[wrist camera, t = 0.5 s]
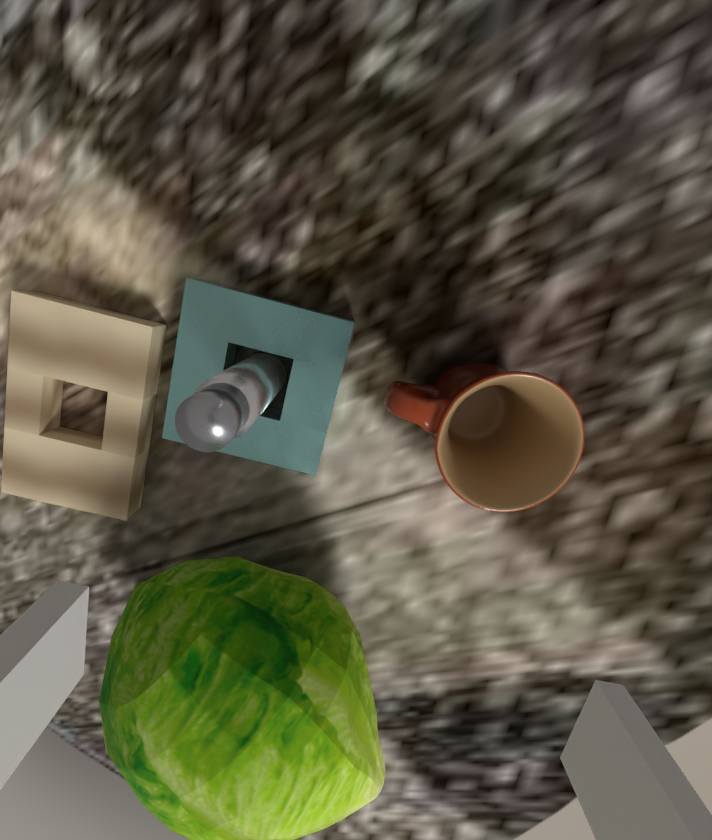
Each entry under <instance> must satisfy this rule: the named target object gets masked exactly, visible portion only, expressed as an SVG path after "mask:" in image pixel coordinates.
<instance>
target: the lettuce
mask: <svg viewBox="0 0 712 840" xmlns="http://www.w3.org/2000/svg"><path fill="white" fill-rule="evenodd" d="M99 703H100V711H101V718H102V725H103V732H104V739H105V746H106V753H107V755H108V756H109V757H110V758H111V760H112V761H113V762H114V764H115V765H116V766H117V768H118V769H119V771H120V772H121V773H122V775H123V776H124V778H125V779H126V781H127V782H128V784H129V785H130V787H131V788H132V790H133V791H134V793H135V794H136V796H137V797H138V799H139V800H140V802H141V803H142V804H143V805H144V806H145V807H146V808H147V809H149V811H151V812H152V813H153V814H154V815H155V816H156V817H157V818H158V819H159V820H160V821H161V822H163V823H164V824H165V825H166V826H167V827H168V828H169V829H170V830H172V831H174V832H176V833H178V834H180V835H182V836H184V837H186V838H188V839H190V840H294V839H297V838H299V837H302V836H305V835H308V834H311V833H314V832H316V831H319V830H322V829H325V828H327V827H329V826H331V825H332V824H334V823H336V822H338V821H340V820H342V819H344V818H345V817H347V816H349V815H350V814H352V813H353V812H355V811H357V810H358V809H360V808H361V807H363V806H364V805H366V804H368V803H369V802H371V801H372V800H373V799H375V798H376V797H377V796H378V794H379V793H380V791H381V789H382V787H383V784H384V777H385V764H384V758H383V752H382V748H381V743H380V739H379V734H378V730H377V715H376V709H375V703H374V698H373V693H372V688H371V683H370V678H369V674H368V669H367V664H366V660H365V655H364V651H363V647H362V642H361V638H360V634H359V632H358V630H357V629H356V627H355V625H354V623H353V621H352V619H351V618H350V616H349V614H348V612H347V610H346V608H345V607H344V606H343V605H342V603H341V602H340V601H339V600H338V599H337V598H336V597H335V595H334V594H333V593H332V592H330V591H328V590H327V589H325V588H323V587H322V586H320V585H319V584H317V583H315V582H314V581H312V580H310V579H309V578H307V577H303V576H299V575H295V574H291V573H287V572H283V571H279V570H275V569H272V568H269V567H266V566H263V565H260V564H257V563H254V562H252V561H249V560H246V559H243V558H240V557H237V556H234V557H220V558H207V559H193V560H186V561H183V562H181V563H179V564H177V565H175V566H173V567H171V568H169V569H167V570H165V571H163V572H161V573H159V574H157V575H155V576H153V577H151V578H149V579H147V580H145V581H143V582H141V583H139V584H137V585H136V587H135V589H134V591H133V593H132V595H131V597H130V599H129V601H128V603H127V605H126V608H125V610H124V612H123V614H122V616H121V618H120V620H119V622H118V624H117V626H116V628H115V630H114V633H113V635H112V639H111V644H110V649H109V654H108V659H107V664H106V669H105V674H104V679H103V685H102V690H101V695H100V700H99Z"/></svg>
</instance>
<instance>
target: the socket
mask: <svg viewBox="0 0 712 840" xmlns="http://www.w3.org/2000/svg"><path fill="white" fill-rule="evenodd" d="M354 323H355V321H354V320H351V319H347V318H343V317H339V316H336V315H332V314H328V313H324V312H321V311H317V310H313V309H310V308H306V307H302V306H298V305H295V304H291V303H287V302H283V301H280V300H276V299H272V298H268V297H265V296H261V295H257V294H253V293H250V292H246V291H242V290H238V289H235V288H231V287H227V286H223V285H220V284H216V283H212V282H209V281H205V280H201V279H192V278H186V282H185V288H184V295H183V301H182V308H181V315H180V321H179V328H178V335H177V341H176V348H175V355H174V361H173V368H172V374H171V381H170V388H169V394H168V401H167V408H166V414H165V421H164V427H163V434H162V438H163V439H167V440H171V441H176V442H180V443H184V442H183V441H182V439H181V438H180V437H179V435H178V433H177V430H176V427H175V414H176V411H177V409H178V407H179V405H180V404H181V403H182V402H183V401H184V400H185V399H187V398H188V397H190V396H192V395H193V393H194V392H195V390H196V389H197V387H198V386H199V385H200V384H202V383H203V382H204V381H206V380H208V379H210V378H212V377H213V376H215V375H217V374H219V373H221V372H223V371H224V370H226V369H228V368H230V367H232V366H233V365H234V363H235V357H236V352H237V347H238V345H241V346H245V347H249V348H253V349H257V350H260V351H264V352H268V353H272V354H276V355H280V356H284V357H287V358H291V359H294V360H293V365H292V369H291V374H290V378H289V383H288V387H287V392H286V396H285V401H284V405H283V410H280V409H276V408H272V407H268V406H267V407H266V409H265V410H264V411H263V412H262V413H261V415H260V416H259V417H258V418H257V420H256V421H255V422H254V423H253V424H252V426H251V427H250V428H249V429H248V430H247V431H246V432H245V433H244V434H243V435H241V436H239V437H237V438H234V439H232V441H231V442H230V443H229V444H228V445H227V446H226V447H224V448H223V449H221V450H219V451H217V452H221V453H225V454H229V455H233V456H238V457H242V458H246V459H250V460H254V461H258V462H262V463H266V464H271V465H275V466H279V467H283V468H287V469H291V470H295V471H299V472H304V473H308V474H312V475H316V472H317V468H318V464H319V460H320V456H321V452H322V449H323V445H324V441H325V437H326V433H327V429H328V425H329V421H330V417H331V413H332V409H333V405H334V401H335V397H336V394H337V390H338V386H339V382H340V378H341V374H342V370H343V366H344V362H345V358H346V354H347V350H348V346H349V342H350V339H351V335H352V331H353V327H354ZM184 444H185V443H184Z"/></svg>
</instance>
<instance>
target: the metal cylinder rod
mask: <svg viewBox="0 0 712 840" xmlns="http://www.w3.org/2000/svg"><path fill="white" fill-rule="evenodd" d="M285 379H286V374H285V369H284V367H283V365H282V363H281V362H280V361H279V360H278V359H277V358H276V357H274V356H272V355H270V354H267V353H257V354H254V355H252V356H250V357H248V358H246V359H244V360H242V361H241V362H239V363H237V364H235V365H233V366H232V367H230V368H228V369H226V370H224V371H223V372H221V373H219V374H217V375H215V376H213V377H212V378H210V379H208V380H206V381H204V382H203V383H202V384H200V385H199V386H198V387H197V389H196V390H195V392H194V393H193V395H192V396H190V397H188V398H187V399H185V400H184V401H183V402H182V403H181V404H180V405H179V407H178V409H177V411H176V414H175V427H176V430H177V433H178V435H179V437H180V438H181V439H182V441H183V442H184V443H185V444H186V445H188V446H189V447H191V448H192V449H195V450H197V451H200V452H215V451H219V450H221V449H223V448H224V447H226V446H227V445H228V444H229V443H230V442H231V441H232V439H234V438H237V437H239V436H241V435H243V434H244V433H245V432H246V431H247V430H248V429H249V428H250V427H251V426H252V424H253V423H254V422H255V421H256V420H257V418H258V417H259V416H260V415H261V413H262V412H263V411H264V410H265V409H266V407H267V406H268V405H269V404H270V403H271V401H272V400H273V399H274V398H275V396H276V395H277V394H278V393H279V392H280V390H281V389H282V388H283V386H284V383H285Z"/></svg>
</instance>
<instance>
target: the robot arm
mask: <svg viewBox="0 0 712 840" xmlns="http://www.w3.org/2000/svg"><path fill="white" fill-rule="evenodd" d="M88 597H89V586H84V585H79V584H73V583H68V582H62V581H57V582H56V583H55V584H53V585H52V586H51V587H50V588H49V589H48V590H47V591H46V592H45V593H44V594H43V595H42V596H41V597H40V598H39V599H38V600H37V601H36V602H35V603H33V604H32V605H31V606H30V607H29V608H28V609H27V610H26V611H25V612H24V613H23V614H22V615H21V616H20V617H19V618H18V619H17V620H16V621H15V622H14V623H12V624H11V625H10V626H9V627H8V628H7V629H6V630H5V631H4V632H3V633H2V634H1V635H0V790H1V788H2V787H3V785H4V784H5V783H6V781H7V780H8V779H9V777H10V776H11V774H12V773H13V772H14V770H15V769H16V767H17V766H18V765H19V763H20V762H21V761H22V759H23V758H24V756H25V755H26V754H27V752H28V751H29V750H30V748H31V747H32V745H33V744H34V743H35V741H36V740H37V738H38V737H39V736H40V734H41V733H42V732H43V730H44V729H45V727H46V726H47V725H48V723H49V722H50V721H51V719H52V718H53V716H54V715H55V714H56V712H57V711H58V709H59V708H60V707H61V705H62V704H63V703H64V701H65V700H66V698H67V697H68V696H69V694H70V693H71V691H72V690H73V689H74V687H75V686H76V685H77V683H78V682H79V680H80V679H81V678H82V676H83V675H84V660H85V644H86V628H87V613H88ZM560 759H561V761H562V763H563V765H564V768H565V770H566V772H567V775H568V777H569V779H570V781H571V784H572V786H573V788H574V791H575V793H576V795H577V797H578V800H579V802H580V804H581V806H582V809H583V811H584V813H585V816H586V818H587V820H588V823H589V825H590V827H591V830H592V831H593V834H594V836H595V839H596V840H712V815H711V814H710V812H709V811H708V809H707V808H706V806H705V805H704V803H703V802H702V800H701V799H700V797H699V796H698V794H697V793H696V791H695V790H694V788H693V787H692V786H691V784H690V783H689V781H688V780H687V778H686V777H685V775H684V774H683V772H682V771H681V769H680V768H679V766H678V765H677V763H676V762H675V761H674V759H673V758H672V756H671V755H670V753H669V752H668V750H667V749H666V747H665V746H664V744H663V743H662V741H661V740H660V738H659V737H658V736H657V734H656V733H655V731H654V730H653V728H652V727H651V725H650V724H649V722H648V721H647V719H646V718H645V716H644V715H643V713H642V712H641V711H640V709H639V708H638V706H637V705H636V703H635V702H634V700H633V699H632V697H631V696H630V694H629V693H628V691H627V690H626V688H625V687H624V686H623V685H620V684H614V683H609V682H603V681H598V680H595V682H594V685H593V687H592V689H591V691H590V693H589V696H588V698H587V700H586V702H585V704H584V707H583V709H582V711H581V713H580V715H579V718H578V720H577V722H576V724H575V726H574V728H573V731H572V733H571V735H570V737H569V739H568V742H567V744H566V746H565V748H564V750H563V753H562V755H561V757H560Z"/></svg>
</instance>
